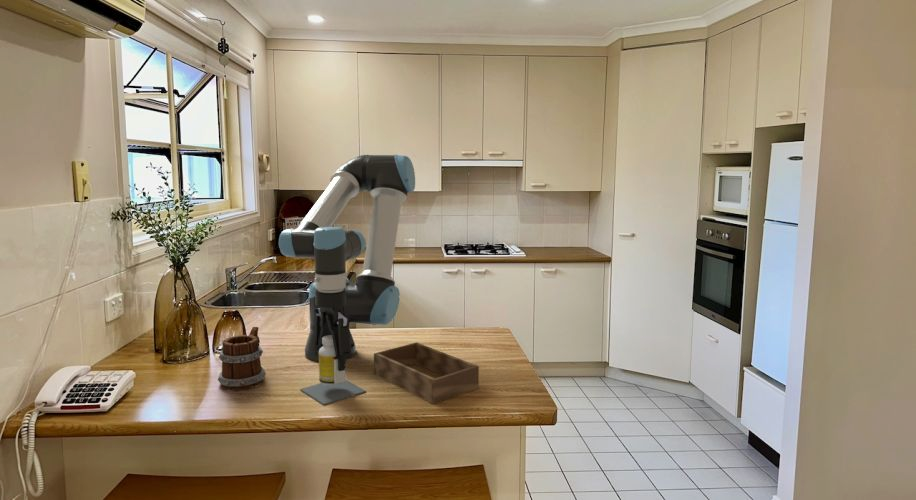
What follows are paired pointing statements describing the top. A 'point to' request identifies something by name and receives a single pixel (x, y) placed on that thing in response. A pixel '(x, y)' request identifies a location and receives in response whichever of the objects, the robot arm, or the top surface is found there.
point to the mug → (241, 362)
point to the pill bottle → (327, 361)
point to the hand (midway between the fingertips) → (332, 377)
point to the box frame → (434, 390)
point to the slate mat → (332, 392)
